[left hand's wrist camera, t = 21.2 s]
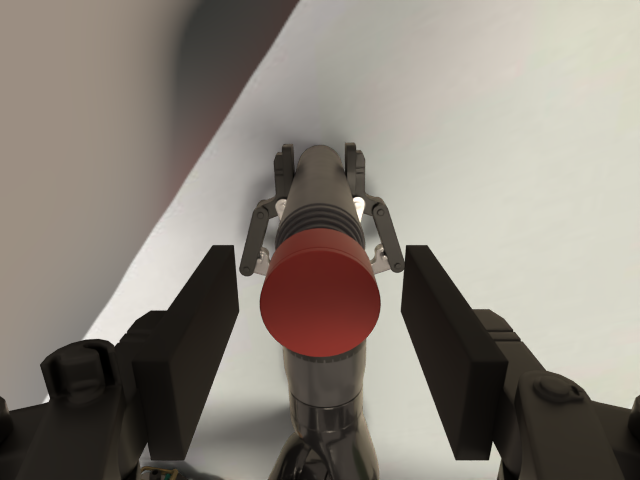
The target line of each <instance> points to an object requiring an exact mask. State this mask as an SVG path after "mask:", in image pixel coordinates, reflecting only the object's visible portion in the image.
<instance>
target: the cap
mask: <svg viewBox="0 0 640 480" xmlns="http://www.w3.org/2000/svg"><path fill="white" fill-rule="evenodd" d="M380 306H381V302H380V294H379V290H378V286H377V283H376V279H375V276H374V273H373V269H372V266H371V263H370V260H369V257H368V256H367V254H366V252H365V251H364V249H363V248H362V247H361V246H360V245H359V243H358V242H356V241H355V240H354V239H353V238H351V237H349V236H348V235H346V234H344V233H342V232H339V231H336V230H332V229H326V228H316V229H309V230H304V231H301V232H299V233H296V234H294V235H292V236H291V237H289V238H288V239H286V240H285V241H284V242H283V243H282V244H281V245H280V246H279V247H278V248H277V249H276V251H275V253H274V254H273V256H272V258H271V261H270V264H269V267H268V271H267V274H266V277H265V281H264V284H263V288H262V291H261V295H260V312H261V316H262V319H263V322H264V324H265V326H266V328H267V330H268V331H269V333H270V334H271V335H272V336H273V337H274V338H275V340H277V341H278V342H279V343H280V344H281V345H283V346H284V347H286V348H288V349H290V350H292V351H294V352H296V353H299V354H302V355H306V356H313V357H327V356H334V355H338V354H341V353H344V352H346V351H349V350H351V349H353V348H354V347H356V346H357V345H359V344H360V343H361V342H363V341H364V340H365V339H366V338H367V337H368V335H369V334H370V333H371V332H372V330H373V328H374V327H375V325H376V323H377V320H378V317H379V313H380Z"/></svg>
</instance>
